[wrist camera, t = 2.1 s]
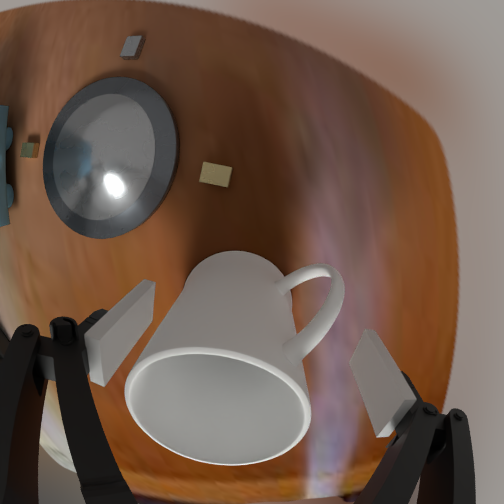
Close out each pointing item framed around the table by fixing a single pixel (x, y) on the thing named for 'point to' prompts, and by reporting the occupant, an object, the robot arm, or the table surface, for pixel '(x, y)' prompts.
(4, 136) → the teapot
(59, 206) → the socket pad
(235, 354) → the mug
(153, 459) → the table surface
